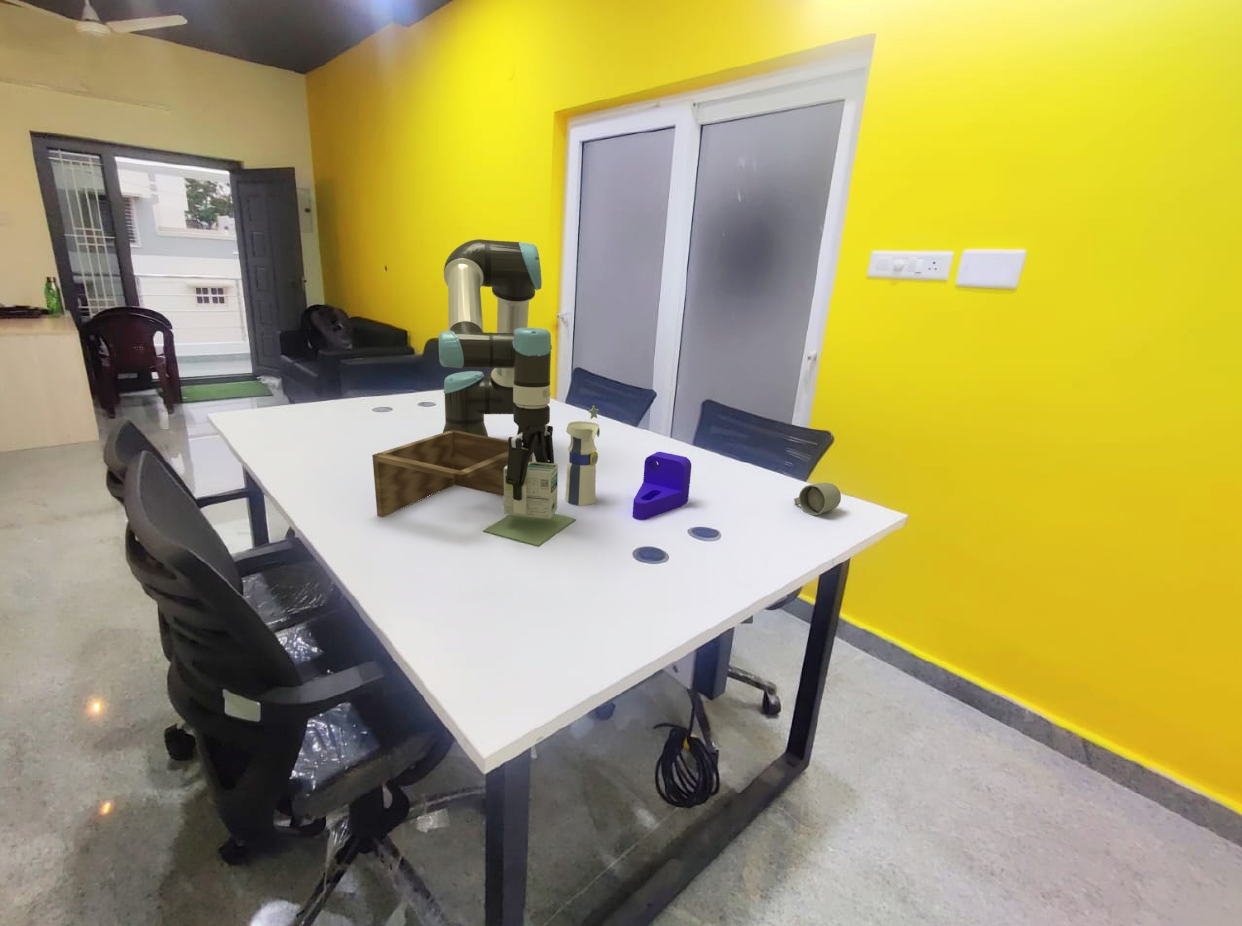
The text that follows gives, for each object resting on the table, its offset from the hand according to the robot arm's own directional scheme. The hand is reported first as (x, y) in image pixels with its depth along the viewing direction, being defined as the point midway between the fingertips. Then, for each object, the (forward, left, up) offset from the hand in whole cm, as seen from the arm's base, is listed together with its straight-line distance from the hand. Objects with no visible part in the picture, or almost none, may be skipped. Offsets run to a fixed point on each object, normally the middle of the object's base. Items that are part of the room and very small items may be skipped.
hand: (531, 506), depth 127 cm
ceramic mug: (-46, +55, -5) cm, 72 cm away
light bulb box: (0, 0, -2) cm, 2 cm away
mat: (0, 0, -5) cm, 5 cm away
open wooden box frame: (0, -20, -5) cm, 21 cm away
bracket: (-25, +20, -5) cm, 32 cm away
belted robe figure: (-20, +2, -5) cm, 21 cm away
